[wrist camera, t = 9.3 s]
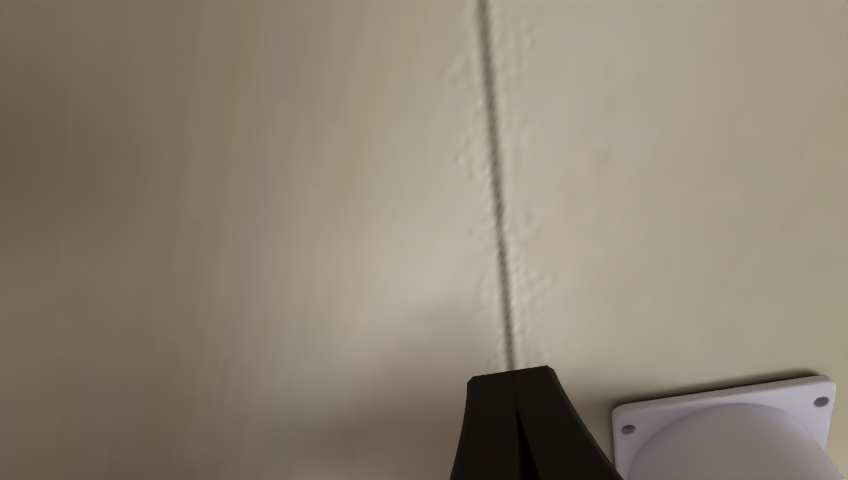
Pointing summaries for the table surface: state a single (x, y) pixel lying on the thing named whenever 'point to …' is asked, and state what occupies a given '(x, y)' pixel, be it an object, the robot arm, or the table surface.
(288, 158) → the table surface
